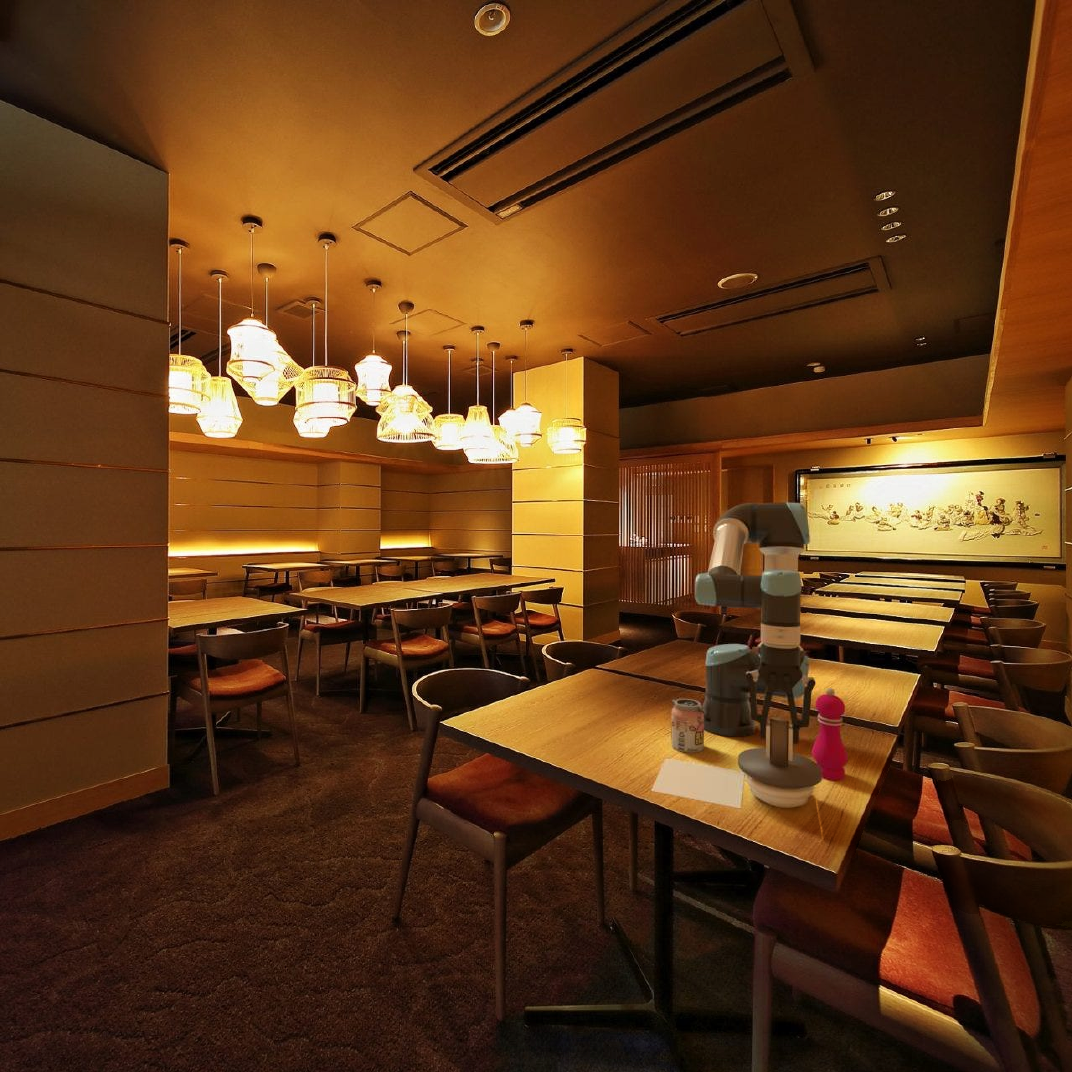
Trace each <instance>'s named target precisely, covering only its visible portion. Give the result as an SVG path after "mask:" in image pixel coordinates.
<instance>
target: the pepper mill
mask: <svg viewBox="0 0 1072 1072" xmlns="http://www.w3.org/2000/svg"><path fill="white" fill-rule="evenodd" d="M835 694H836V692H835V689H833V688H831V687H828V688H827V689H826V690H825V693H824V694H822V695H819V696H818V697H817V698H816V700H815V709H816V711H817V712H818V715H817V721H818V723H819V732H818V736H817V738H816V739H815V740H814V743H813V745H812V748H811V749H812V750H811V751H812V752H811V756H812V758H813V760H814V762H815V763H817V764H818V765H819V766H820V767H821V769H822V779H826V780H829V781H830V780H831V781H841V780H844V779H845V778H846V777H845V776H846V770H845V767H844V766H846V764H847V763H848V759H849V758H848V754H847V750H846V748H845V745H844V743H843V740H842V736H841V726H842V725H843V717H842V716H843V715H844V714H845V711H846V706H845V703H844V701H843V699H842V698H840V697H839V696H837V695H835Z"/></svg>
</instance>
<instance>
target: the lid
mask: <svg viewBox="0 0 1072 1072" xmlns="http://www.w3.org/2000/svg"><path fill="white" fill-rule="evenodd" d="M769 722H770V757H766V747H755V748H749V749H746V750H743V751H741V752H740V753H739V754H738V756H737V766H738V767H739V769H740V771H743V772H744V774H745V773H746V774H747V775H749V776H751V777H752V778H755V779H757V780H759V781H762V782H765V783H768V784H772V785H777V786H783V787H792V788H803V787H811V786H814V787H815V786H817V785H818V784H820V783H821V782H822V781H823V778H822V769H821V767H820V766H819V765H818V764H817V763H816V761H815V760H813V759H811V758H809V757H806V756H804V755H802V754H799V753H796V752H793V758H792V761H789V760H788V739H789V725H790V721H789V720H788V719H785V718H781V717H771V718H770V719H769Z"/></svg>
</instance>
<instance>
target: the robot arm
mask: <svg viewBox="0 0 1072 1072" xmlns="http://www.w3.org/2000/svg"><path fill="white" fill-rule="evenodd" d="M712 530H713V531H712V537H713V540H714V542H713V548H712V552H711V556H710V559H709V560H710V561H709V565H708V569H707V572H705V573H698V574H697V575H696V576H695V581H694V583H695V584H694V598H695V601H696V603H697V604H698V605H702V606H711V607H728V608H729V607H731V608H747V609H760V612H761V615H760V616H761V619H760V641H761V642H760V643H759V644H757V651H751V648H750V647H749V646H748V645H746V644H740V643H728V644H727V643H726V644H719V645H714V646H712V647H710V648H708V649H707V651H706V656H705V657H706V659H705V662H704V665H705V699H704V701H703V705H702V706H703V708H704V709H705V710H706V711H707V713H706V715H704V731H707V732H710V733H712V734H716V735H720V736H728V737H744V736H745V737H746V736H750V735H752V734H754V733H755V732H756V722H758V723H759V726H760V727H759V737H760V739H761V740H765V748H766V757H770V721H768V717H769V713H770V708H771V705H772V704H771V703H772V699H773V697H776V698H783V699H787V703H788V709H789V714H790V720H791V724H789V739H788V760H789V761H792V758H793V753H794V752H793V747H794V746H793V745H794V744H795V745H798V744H799V742H800V729H801V728H808V727H809V726H810V719H811V718H810V714H811V702H812V692H813V690H814V689H815V686H816V680H815V678H814V677H813V676H809V671H810V669H809V668H810V667H809V666H810V657H809V656H808V655H804V648H803V647H802V646H801V645H800V644H801V604H802V603H801V602H802V600H801V599H802V598H801V596H802V594H801V593H802V588H803V587H802V582H801V581H802V580H801V579H802V578H801V574H800V572H799V570H798V568H799V566H798V565H799V556H800V555H801V554H802V553H803V552H804V550H805V545H809V544H810V543H811V536H810V525H809V519H808V514H807V510H806V507H805V506H804V505H803V504H802V503H800V502H788V501H785V502H784V501H783V502H757V503H755V502H754V503H753V502H748V503H747V502H745V503H741V504H738V505H735V506H734V507H731V508H730V509H728V510H727V511H725V512H724V513H722V515H721V516H720V517H719V518H717V521H716V522H715V523H714V526H713V529H712ZM750 543H751V544H758V550H759V551H760V553H762V554H763V555H764V556H763V557H764V570H763V572H762V573H761V575H757V574H756V575H751V574H741V569H742V561H743V552H744V547H745V546H744V545H745V544H750ZM757 695H758V696H764V698H763V699H764V700H763V704H762V709H761V713H758V704H757V703H758V700H757V699H758V698H757ZM801 698H803V701H802V712H801V713H802V714H801V718H800V719H799V718H798V713H797V707H796V703H795V699H796V700H797V699H798V700H799V699H801Z"/></svg>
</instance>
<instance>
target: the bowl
mask: <svg viewBox="0 0 1072 1072" xmlns="http://www.w3.org/2000/svg"><path fill="white" fill-rule="evenodd" d="M744 781H745V782H746V783H747V785H748V786H749V789H750V792H751V793H752V795H753V796H754V797H756V798H758V799H759V800H761V801H763V802H764V803H767V804H768V805H770V806H774V807H778V808H784V809H785V808H787V809H788V808H789V809H790V808H795V807H801V806H804V805H806V804H807V803H808V802H809V797H810V796H812V795H813V794H814V791H815V789H814V787H815V785H814V786H811V787H803V788H792V787H783V786H777V785H772V784H768V783H765V782H762V781H759V780H757V779H755V778H752V777H751V776H749V775H747V774H746V773H744Z"/></svg>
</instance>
